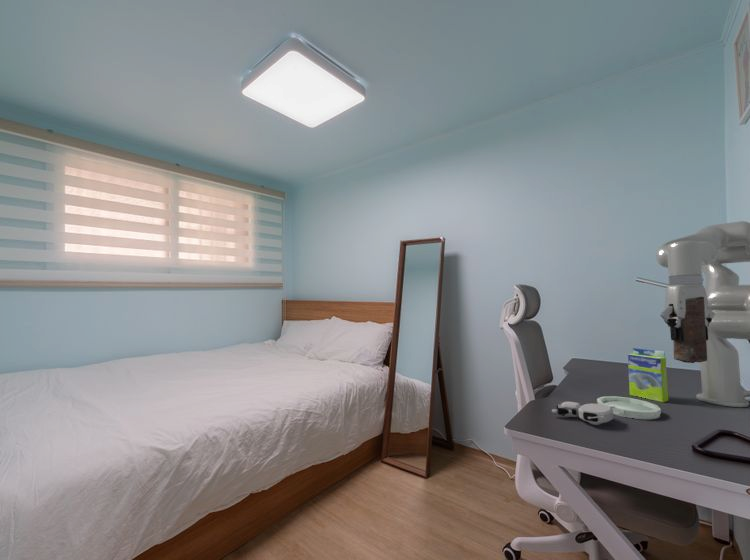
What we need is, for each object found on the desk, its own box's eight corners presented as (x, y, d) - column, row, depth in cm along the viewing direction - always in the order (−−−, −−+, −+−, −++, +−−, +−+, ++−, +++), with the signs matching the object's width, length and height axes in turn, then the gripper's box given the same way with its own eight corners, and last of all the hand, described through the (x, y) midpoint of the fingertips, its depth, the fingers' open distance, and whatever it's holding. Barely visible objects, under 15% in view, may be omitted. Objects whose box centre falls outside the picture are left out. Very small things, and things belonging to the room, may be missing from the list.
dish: (631, 402, 116) (630, 395, 116) (674, 418, 100) (674, 411, 100) (586, 403, 115) (586, 396, 115) (623, 420, 99) (623, 412, 99)
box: (629, 395, 124) (626, 348, 125) (634, 393, 126) (632, 347, 127) (663, 403, 114) (660, 352, 115) (669, 401, 116) (666, 351, 117)
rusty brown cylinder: (716, 365, 96) (711, 296, 97) (690, 365, 96) (685, 296, 97) (691, 360, 104) (687, 296, 105) (667, 360, 104) (663, 296, 105)
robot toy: (550, 420, 102) (607, 431, 91) (548, 405, 102) (605, 414, 91) (564, 411, 110) (619, 420, 99) (563, 397, 110) (617, 404, 99)
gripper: (699, 281, 105) (703, 337, 105) (647, 282, 105) (650, 339, 104) (725, 280, 98) (730, 341, 97) (669, 281, 97) (673, 342, 96)
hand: (689, 339), depth 100 cm, fingers closed on rusty brown cylinder, 7 cm apart
